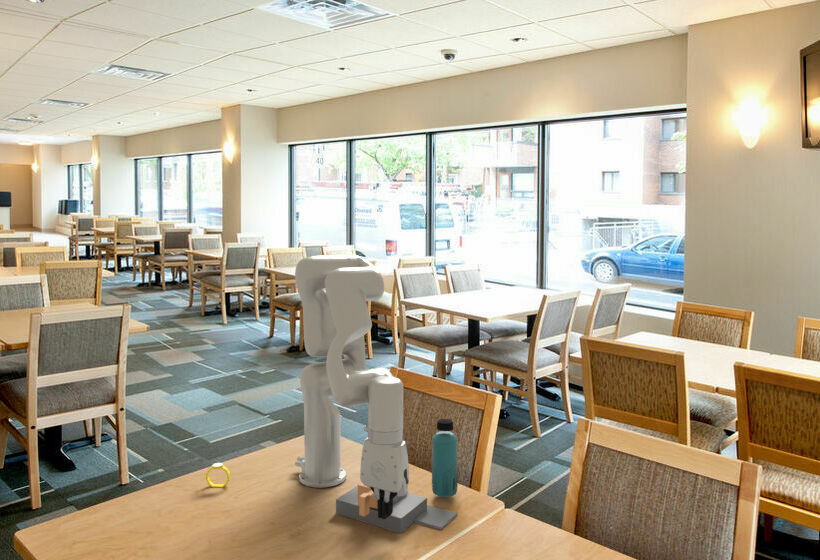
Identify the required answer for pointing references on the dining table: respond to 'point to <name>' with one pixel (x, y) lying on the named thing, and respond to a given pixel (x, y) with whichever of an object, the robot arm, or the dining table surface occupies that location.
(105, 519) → the dining table surface
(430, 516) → the mat
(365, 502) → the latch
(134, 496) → the dining table surface
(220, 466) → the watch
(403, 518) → the grey base plate
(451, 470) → the beverage bottle
